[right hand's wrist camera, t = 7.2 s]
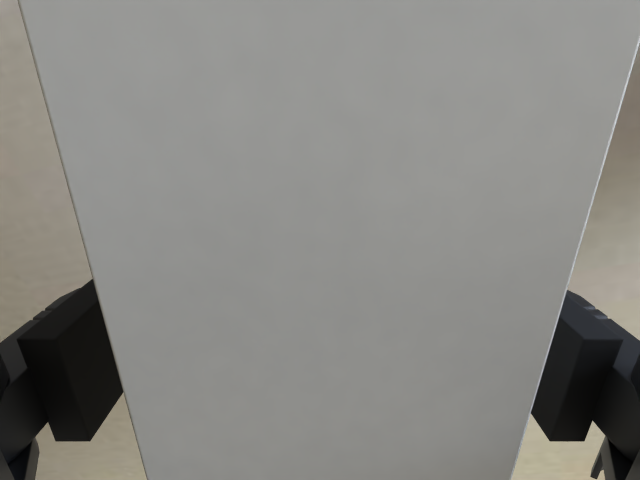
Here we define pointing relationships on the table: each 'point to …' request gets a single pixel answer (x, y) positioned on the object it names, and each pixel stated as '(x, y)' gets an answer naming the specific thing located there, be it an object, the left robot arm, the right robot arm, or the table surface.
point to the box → (331, 218)
